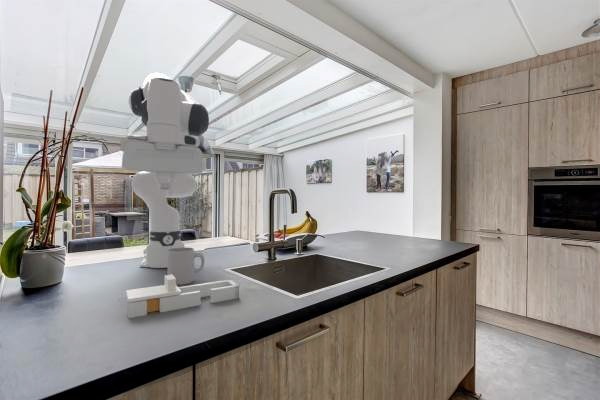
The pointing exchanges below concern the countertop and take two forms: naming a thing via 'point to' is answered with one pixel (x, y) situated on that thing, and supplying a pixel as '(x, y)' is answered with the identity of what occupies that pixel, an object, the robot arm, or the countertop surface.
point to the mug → (183, 264)
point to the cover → (155, 290)
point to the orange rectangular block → (152, 304)
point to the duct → (189, 297)
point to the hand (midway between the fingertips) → (164, 189)
